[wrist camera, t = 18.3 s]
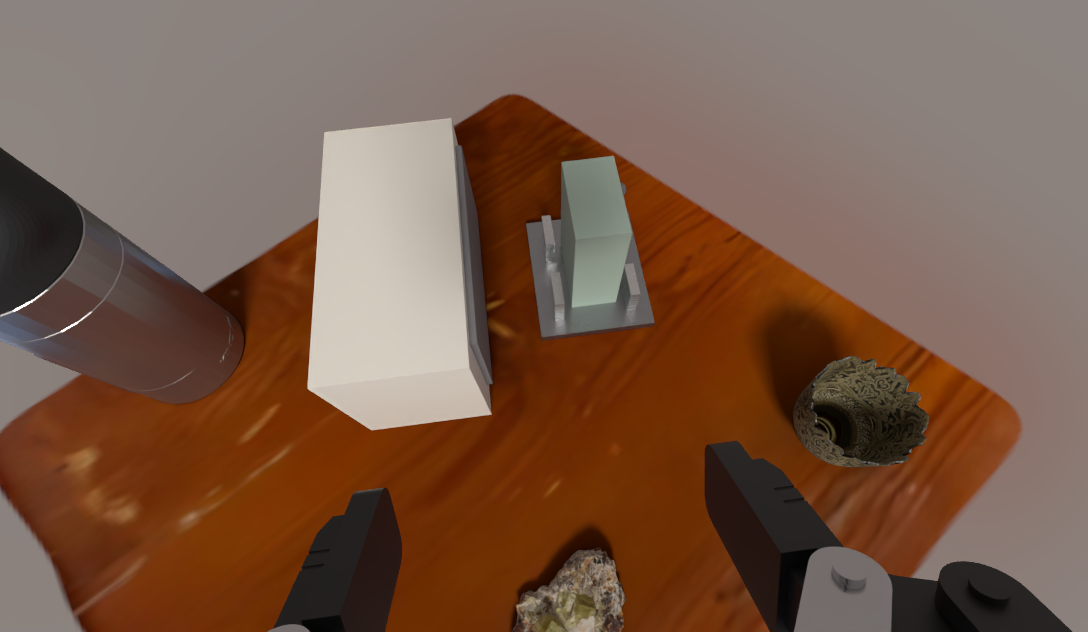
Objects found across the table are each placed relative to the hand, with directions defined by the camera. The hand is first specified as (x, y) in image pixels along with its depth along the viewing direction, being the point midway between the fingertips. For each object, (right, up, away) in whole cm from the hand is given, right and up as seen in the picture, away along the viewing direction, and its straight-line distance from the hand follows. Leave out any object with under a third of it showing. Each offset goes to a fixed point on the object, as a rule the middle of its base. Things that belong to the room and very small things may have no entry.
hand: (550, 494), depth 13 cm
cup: (+22, -5, +29) cm, 37 cm away
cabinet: (-11, +5, +34) cm, 36 cm away
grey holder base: (+4, +8, +35) cm, 36 cm away
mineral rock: (+2, -18, +24) cm, 30 cm away
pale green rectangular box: (+4, +9, +35) cm, 36 cm away
